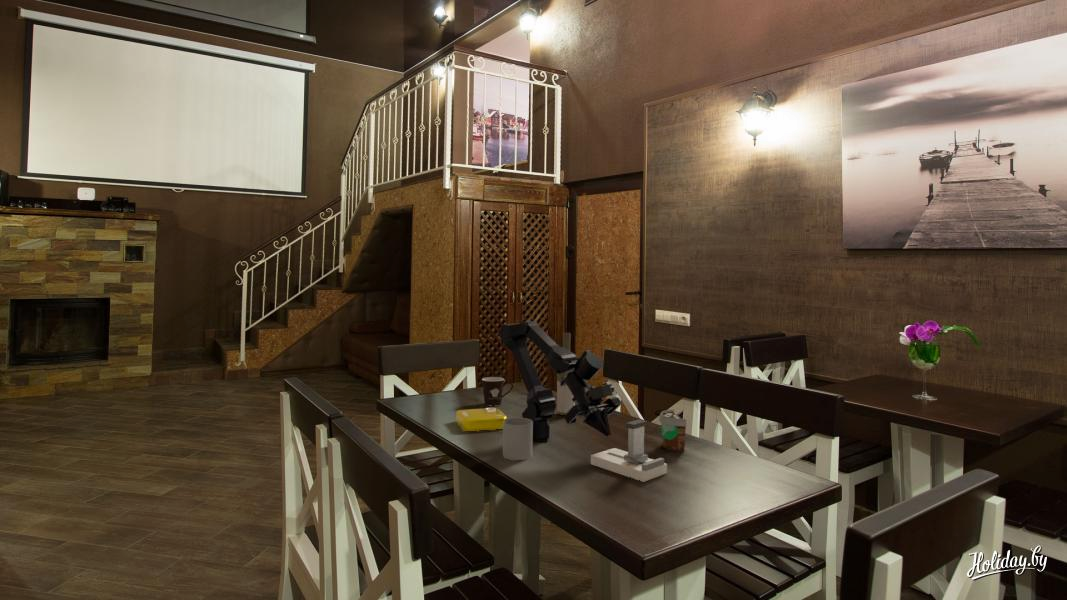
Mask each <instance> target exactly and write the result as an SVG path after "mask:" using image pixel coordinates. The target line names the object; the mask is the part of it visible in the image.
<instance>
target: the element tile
mask: <svg viewBox="0 0 1067 600" xmlns="http://www.w3.org/2000/svg"><path fill="white" fill-rule="evenodd" d="M455 415H456V417H455V418H456V421H455V422H456V424H457V423H458V424H457V426H458V427H459V426H460V427H461V428H460V427H459V428H460V430H461V429H462V430H464V431H477V432H480V431H479V430H490V431H497V430H496V429H503V421H504V420H505V419H508V417H507V415H505V414H504V413H503V412H502V411H501V410H500V409H499V408H497V407H486V408H471V409H470V408H469V409H459V410H457V411H456V414H455ZM462 430H461V431H462ZM464 431H463V432H464Z"/></svg>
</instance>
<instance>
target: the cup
mask: <svg viewBox="0 0 1067 600" xmlns="http://www.w3.org/2000/svg"><path fill="white" fill-rule="evenodd" d="M532 440H533V421H532V420H530V419H527V418H523V417H510V418H509V417H508V418H507V419H505V420H504V421H503V430H502V457H503V456H504V457H503V459H505V458H507V460H508V459H510V460H509V461H514V460H522V461H527V460H529V459H532V457H533V441H532Z"/></svg>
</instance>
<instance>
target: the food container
mask: <svg viewBox="0 0 1067 600" xmlns="http://www.w3.org/2000/svg"><path fill="white" fill-rule="evenodd" d="M658 421H659V422H660V423H661V424H660V426H661V427H660V428H661V442H662V443H661V444H662V448H663V449H666V450H669V451H671V452H672V451H673V452H680V451H684V452H685V445H686V444H685V443H686V428H687V419H686V418H682V417H681V416H680V415H678V414H676V413H675V410H674V409H666V410H663V411H661V412H660V414H659V418H658Z"/></svg>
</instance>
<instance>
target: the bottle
mask: <svg viewBox="0 0 1067 600" xmlns="http://www.w3.org/2000/svg"><path fill="white" fill-rule="evenodd" d="M571 334H572V333H571V332H563V333H562V339H563V341H562V342H563V343H562V348H565V349H568V350H569V351H571V337H572V335H571ZM568 373H569V372H567V373H560V374H557V373H556V392H557V393H556V394H557V395H556V397H557V399H556V401H557V403H556V410H557V414H558V415H561V416H563V415H565V414H566V413H567V412H568V411H569V410H570V409H571V408H572V407H573V406H575V405H576V402H573V400H572V399H573V398H574V396H573V395H572V393H571V391H570V390H569V388H568V386H567V385H566V386H560V382H561V377H564V376H566V375H567V374H568Z"/></svg>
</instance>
